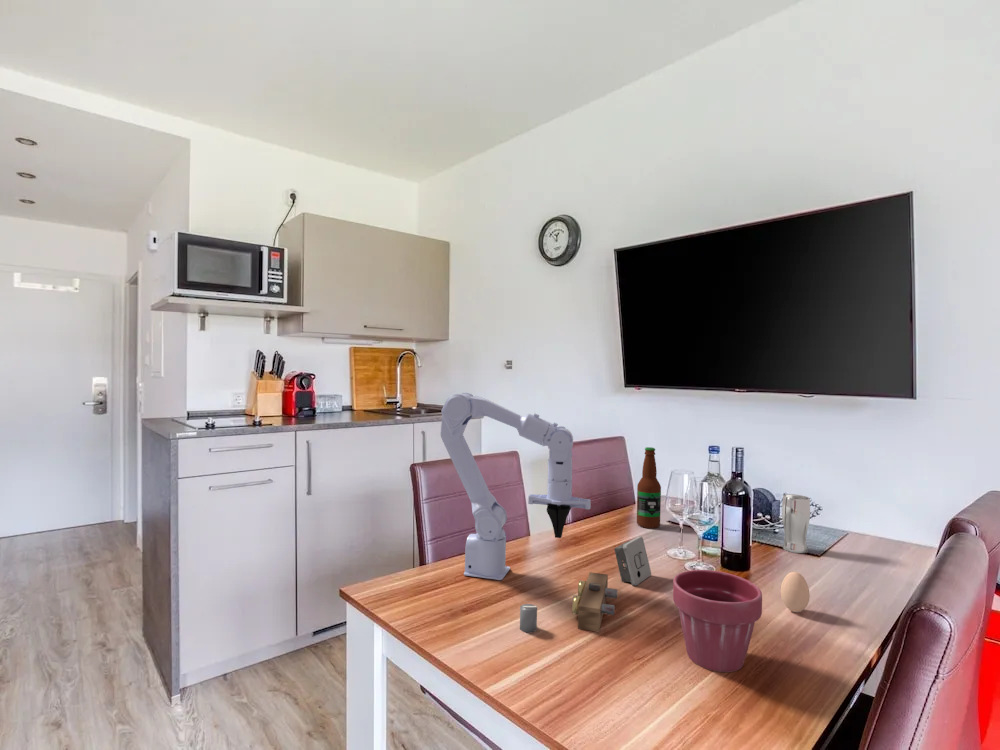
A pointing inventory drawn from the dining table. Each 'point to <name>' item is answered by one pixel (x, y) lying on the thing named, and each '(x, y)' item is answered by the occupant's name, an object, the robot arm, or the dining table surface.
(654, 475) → the bottle
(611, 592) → the far plunger
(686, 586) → the plant pot
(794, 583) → the egg
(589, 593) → the wooden board with knobs
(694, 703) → the dining table surface
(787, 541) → the beer glass
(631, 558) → the electrical switch
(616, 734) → the dining table surface
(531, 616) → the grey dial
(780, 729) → the dining table surface
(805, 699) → the dining table surface
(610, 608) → the near plunger
